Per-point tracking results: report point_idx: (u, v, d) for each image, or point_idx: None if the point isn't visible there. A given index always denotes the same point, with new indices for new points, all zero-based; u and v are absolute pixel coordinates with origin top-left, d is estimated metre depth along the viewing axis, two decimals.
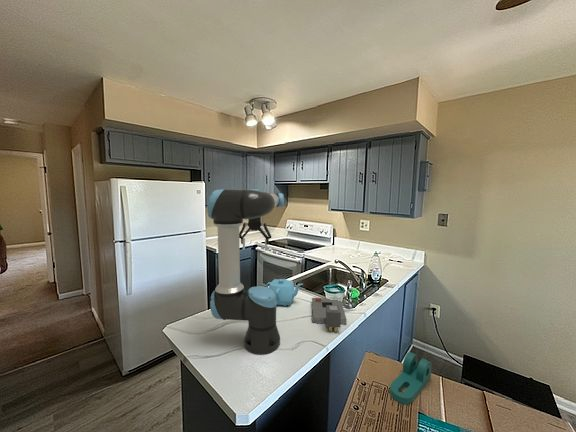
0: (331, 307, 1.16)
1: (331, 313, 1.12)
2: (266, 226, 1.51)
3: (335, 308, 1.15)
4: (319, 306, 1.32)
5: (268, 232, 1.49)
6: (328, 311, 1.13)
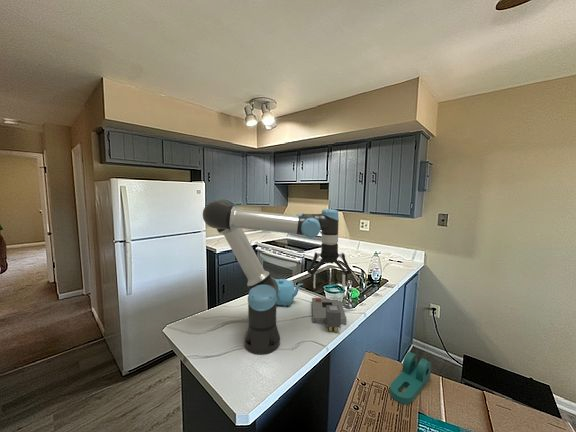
0: (331, 307, 1.16)
1: (331, 313, 1.12)
2: None
3: (335, 308, 1.15)
4: (319, 306, 1.32)
5: None
6: (328, 311, 1.13)
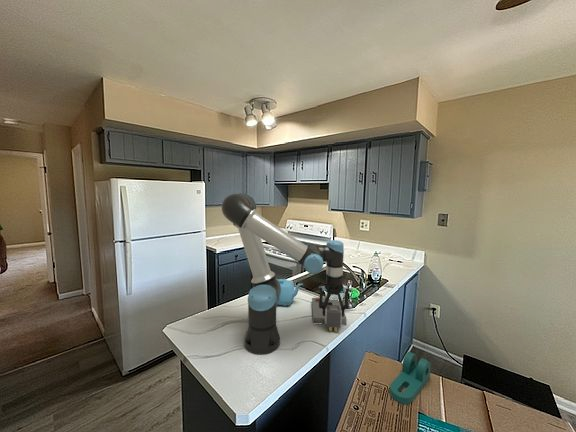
0: (331, 307, 1.16)
1: (331, 313, 1.12)
2: None
3: (335, 308, 1.15)
4: None
5: None
6: (328, 311, 1.13)
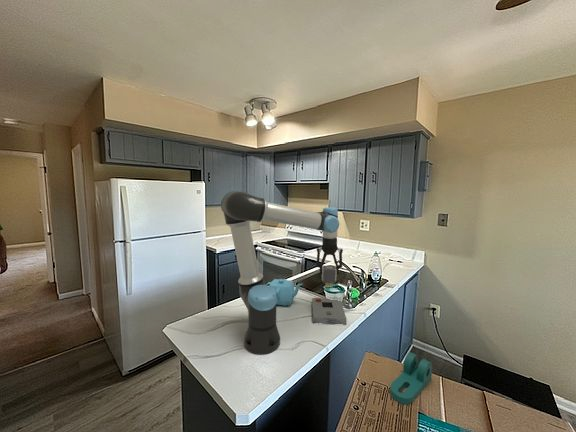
0: (327, 266, 1.31)
1: (327, 270, 1.27)
2: None
3: (331, 267, 1.30)
4: (319, 306, 1.32)
5: (341, 260, 1.29)
6: (324, 269, 1.28)
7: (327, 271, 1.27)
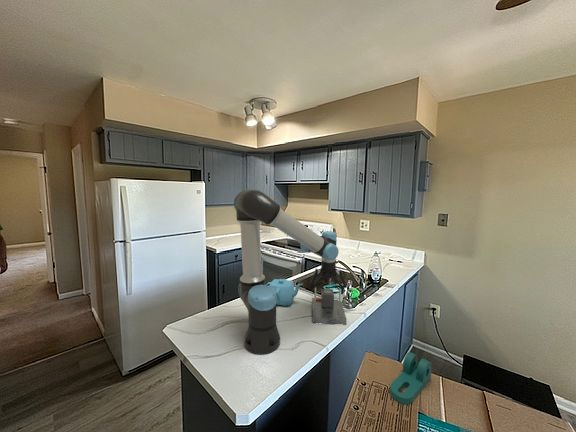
0: (326, 290, 1.33)
1: (325, 295, 1.30)
2: None
3: (329, 291, 1.32)
4: (319, 306, 1.32)
5: (344, 281, 1.31)
6: (323, 293, 1.30)
7: (326, 296, 1.30)
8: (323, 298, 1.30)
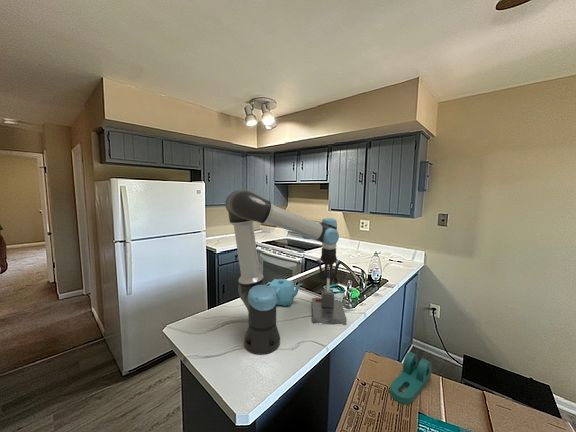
0: None
1: (326, 295, 1.30)
2: None
3: None
4: (319, 306, 1.32)
5: (336, 272, 1.30)
6: (323, 293, 1.30)
7: (326, 296, 1.30)
8: (323, 298, 1.30)
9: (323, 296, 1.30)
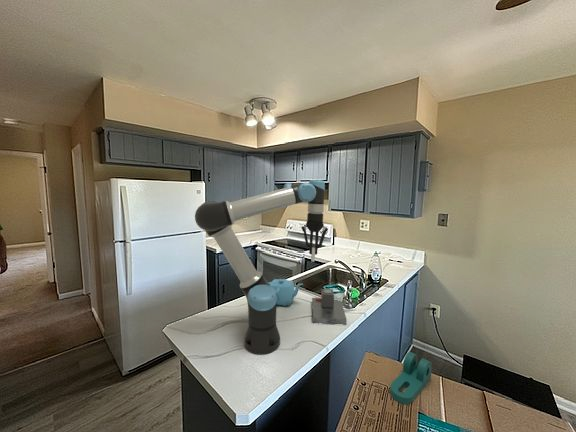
0: (326, 290, 1.33)
1: (325, 295, 1.30)
2: None
3: (329, 291, 1.32)
4: (319, 306, 1.32)
5: None
6: (323, 293, 1.30)
7: (326, 296, 1.30)
8: (323, 298, 1.30)
9: (323, 296, 1.30)
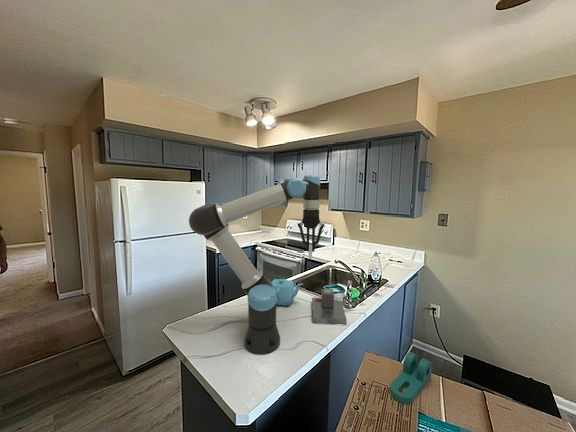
0: (326, 290, 1.33)
1: (325, 295, 1.30)
2: None
3: (329, 291, 1.32)
4: (319, 306, 1.32)
5: None
6: (323, 293, 1.30)
7: (326, 296, 1.30)
8: (323, 298, 1.30)
9: (323, 296, 1.30)
